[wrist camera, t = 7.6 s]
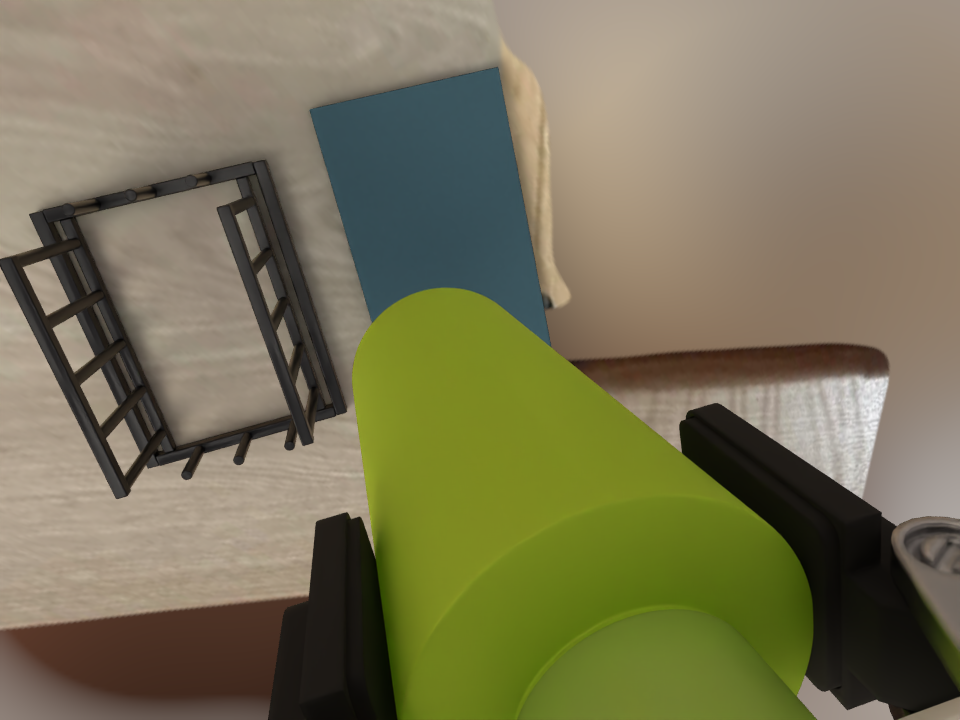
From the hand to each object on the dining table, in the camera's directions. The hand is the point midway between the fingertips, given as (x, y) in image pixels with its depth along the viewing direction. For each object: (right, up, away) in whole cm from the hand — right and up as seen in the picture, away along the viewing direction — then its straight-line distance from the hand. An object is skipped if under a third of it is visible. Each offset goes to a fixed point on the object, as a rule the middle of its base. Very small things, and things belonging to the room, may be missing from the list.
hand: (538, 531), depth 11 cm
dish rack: (-18, +6, +26) cm, 32 cm away
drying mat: (-3, +10, +28) cm, 29 cm away
